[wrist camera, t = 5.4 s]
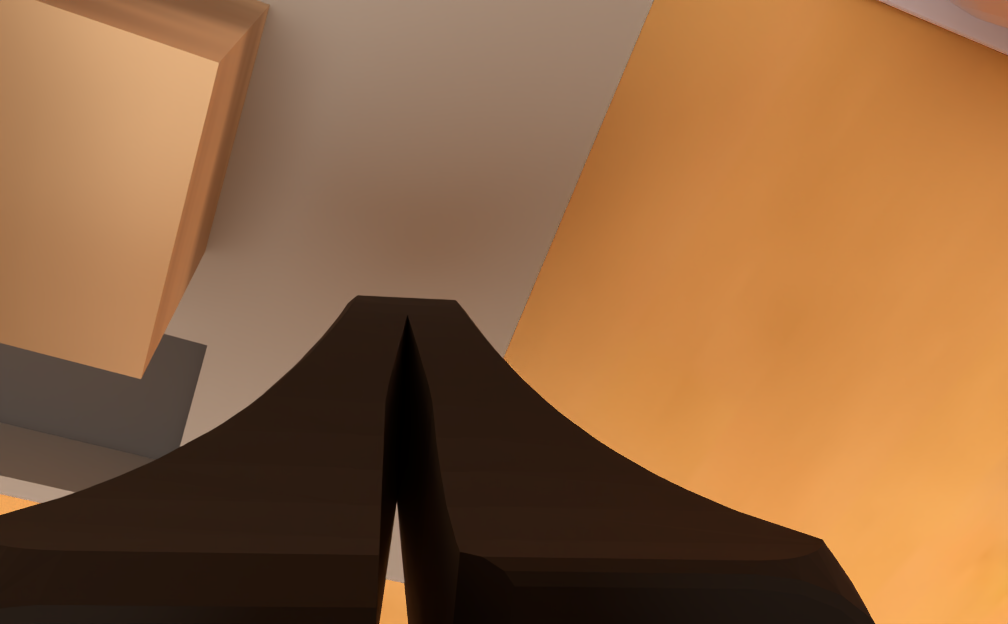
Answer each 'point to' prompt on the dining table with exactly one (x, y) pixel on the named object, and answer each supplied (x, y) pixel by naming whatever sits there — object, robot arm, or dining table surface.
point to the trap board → (345, 213)
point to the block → (113, 165)
